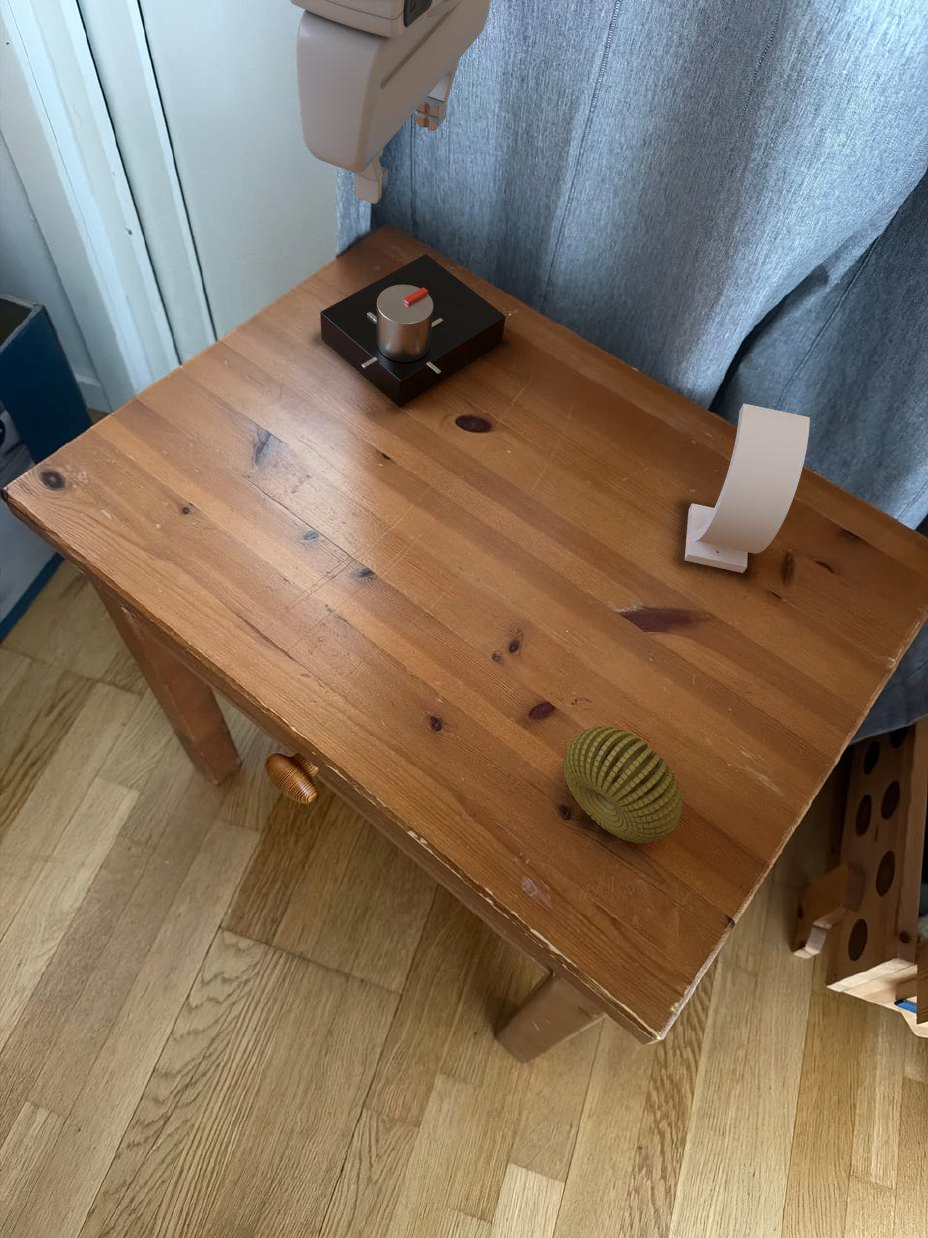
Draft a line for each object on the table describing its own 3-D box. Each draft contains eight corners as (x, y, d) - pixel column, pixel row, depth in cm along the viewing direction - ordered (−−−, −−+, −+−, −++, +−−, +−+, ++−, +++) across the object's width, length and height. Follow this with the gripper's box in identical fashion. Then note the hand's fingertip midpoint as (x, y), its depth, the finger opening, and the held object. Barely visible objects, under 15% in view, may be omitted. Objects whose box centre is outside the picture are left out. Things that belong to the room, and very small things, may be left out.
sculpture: (540, 783, 59) (563, 736, 52) (580, 743, 60) (607, 693, 53) (634, 871, 56) (671, 834, 49) (672, 827, 58) (714, 786, 51)
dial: (401, 370, 71) (403, 328, 68) (365, 339, 73) (364, 296, 69) (441, 346, 73) (445, 303, 70) (405, 316, 75) (407, 273, 71)
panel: (398, 424, 73) (399, 397, 70) (309, 346, 76) (307, 316, 73) (512, 351, 78) (517, 322, 75) (424, 280, 81) (426, 251, 79)
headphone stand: (745, 521, 71) (810, 417, 61) (742, 584, 68) (810, 485, 58) (688, 509, 71) (743, 402, 61) (682, 571, 68) (739, 470, 58)
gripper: (436, -159, 55) (423, 71, 67) (268, -17, 45) (288, 224, 57) (530, -130, 54) (500, 98, 66) (381, 21, 44) (378, 258, 56)
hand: (401, 157), depth 62 cm, fingers open, 8 cm apart
